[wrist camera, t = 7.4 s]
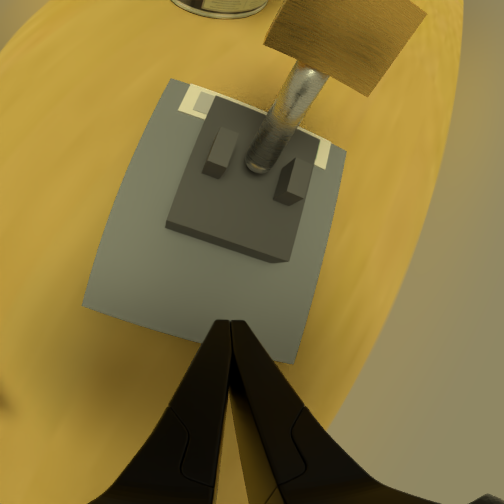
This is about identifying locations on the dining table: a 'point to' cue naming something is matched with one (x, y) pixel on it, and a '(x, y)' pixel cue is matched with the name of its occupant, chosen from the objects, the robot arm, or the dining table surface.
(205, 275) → the switch board
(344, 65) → the lever
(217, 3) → the coffee can
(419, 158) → the dining table surface
